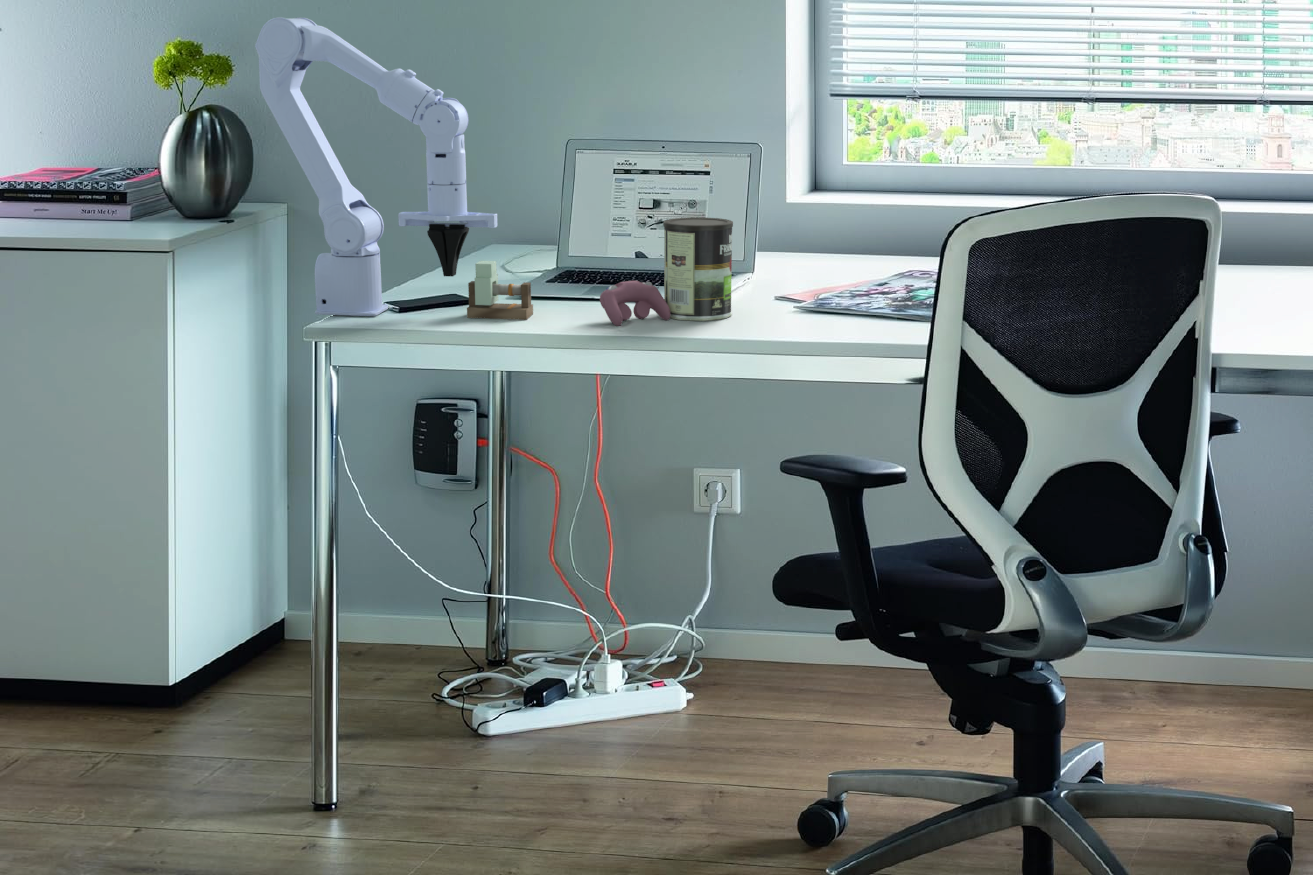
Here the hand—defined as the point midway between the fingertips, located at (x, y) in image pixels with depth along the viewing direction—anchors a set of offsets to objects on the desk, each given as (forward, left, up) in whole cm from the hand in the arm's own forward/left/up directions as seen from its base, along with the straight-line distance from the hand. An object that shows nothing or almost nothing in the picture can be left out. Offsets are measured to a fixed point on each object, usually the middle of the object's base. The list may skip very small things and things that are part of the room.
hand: (449, 275), depth 231 cm
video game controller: (+28, 0, -6) cm, 29 cm away
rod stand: (+8, 0, -6) cm, 10 cm away
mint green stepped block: (+6, 0, -4) cm, 7 cm away
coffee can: (+36, +6, -6) cm, 37 cm away
